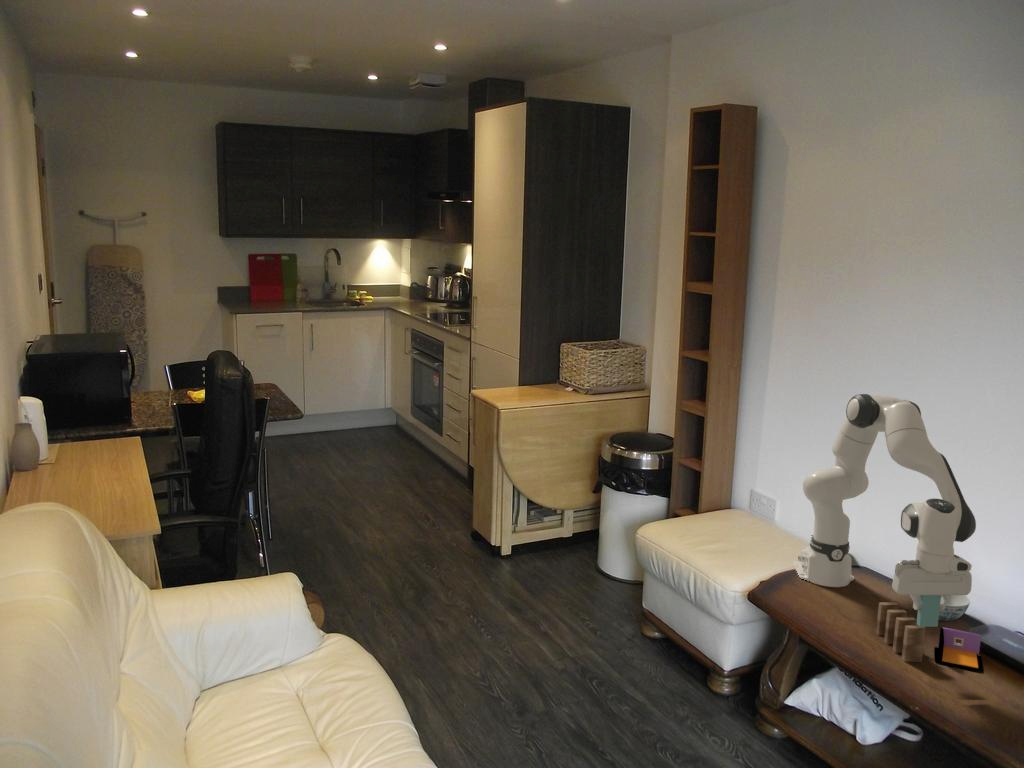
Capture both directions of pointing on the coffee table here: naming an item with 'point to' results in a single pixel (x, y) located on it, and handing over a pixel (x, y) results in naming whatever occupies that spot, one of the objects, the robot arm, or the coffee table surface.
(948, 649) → the miniature room corner
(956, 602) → the chinaware
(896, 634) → the domino
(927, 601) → the domino
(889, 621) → the domino
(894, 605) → the domino
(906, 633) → the domino
